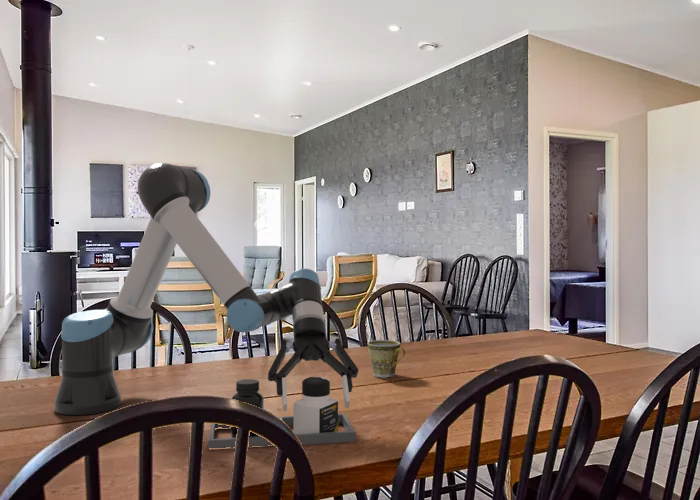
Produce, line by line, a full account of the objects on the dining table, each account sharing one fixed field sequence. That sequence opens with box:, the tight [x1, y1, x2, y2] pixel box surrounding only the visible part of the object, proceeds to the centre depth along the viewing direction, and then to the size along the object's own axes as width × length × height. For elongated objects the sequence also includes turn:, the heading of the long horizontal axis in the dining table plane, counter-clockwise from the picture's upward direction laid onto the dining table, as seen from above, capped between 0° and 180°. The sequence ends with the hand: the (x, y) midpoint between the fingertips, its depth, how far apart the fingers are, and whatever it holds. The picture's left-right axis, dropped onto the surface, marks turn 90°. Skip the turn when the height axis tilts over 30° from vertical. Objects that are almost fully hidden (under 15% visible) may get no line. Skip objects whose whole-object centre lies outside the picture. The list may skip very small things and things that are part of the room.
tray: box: [207, 412, 357, 449], centre depth 128 cm, size 30×13×2 cm, turn 100°
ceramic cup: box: [367, 339, 406, 379], centre depth 181 cm, size 13×10×10 cm
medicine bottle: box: [293, 376, 339, 434], centre depth 130 cm, size 7×7×12 cm
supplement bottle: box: [230, 378, 264, 438], centre depth 127 cm, size 7×7×12 cm
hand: (316, 406), depth 127 cm, fingers open, 13 cm apart
